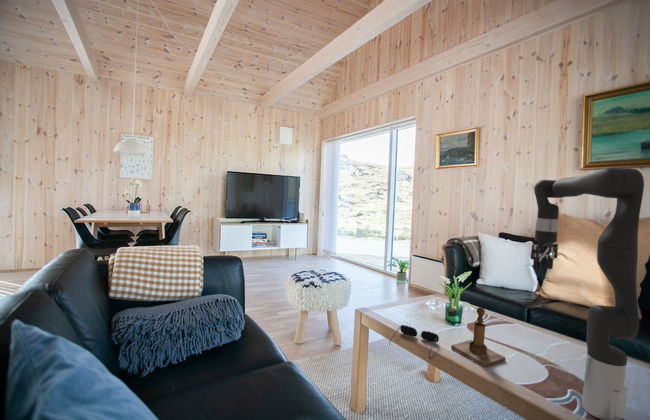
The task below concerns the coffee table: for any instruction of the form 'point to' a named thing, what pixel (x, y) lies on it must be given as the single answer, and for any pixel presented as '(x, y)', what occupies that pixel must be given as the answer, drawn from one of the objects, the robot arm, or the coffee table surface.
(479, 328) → the wooden pepper mill
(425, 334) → the sunglasses
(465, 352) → the serving board
